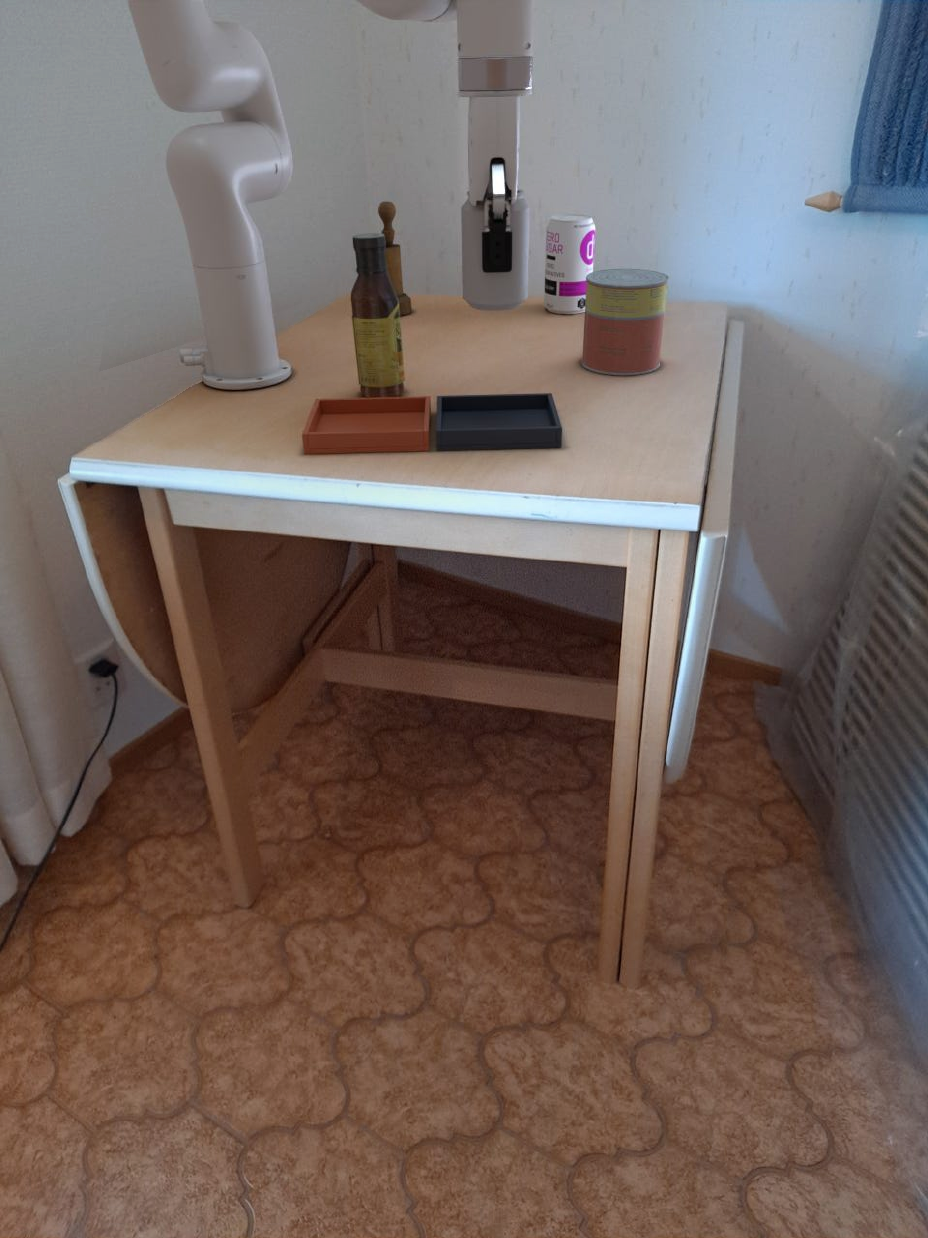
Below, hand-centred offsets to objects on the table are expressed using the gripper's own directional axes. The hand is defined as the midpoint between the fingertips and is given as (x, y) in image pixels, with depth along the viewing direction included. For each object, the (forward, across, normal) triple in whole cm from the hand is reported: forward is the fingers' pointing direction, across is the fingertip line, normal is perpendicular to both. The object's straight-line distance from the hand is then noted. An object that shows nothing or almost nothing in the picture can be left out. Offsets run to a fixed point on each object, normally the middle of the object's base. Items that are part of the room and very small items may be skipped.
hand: (495, 263), depth 97 cm
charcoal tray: (+18, +3, 0) cm, 19 cm away
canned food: (+19, -22, +19) cm, 35 cm away
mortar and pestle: (+19, -56, -15) cm, 61 cm away
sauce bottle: (+19, -12, -15) cm, 26 cm away
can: (+5, 0, 0) cm, 5 cm away
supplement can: (+19, -55, +16) cm, 60 cm away
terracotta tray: (+18, +3, -15) cm, 24 cm away
